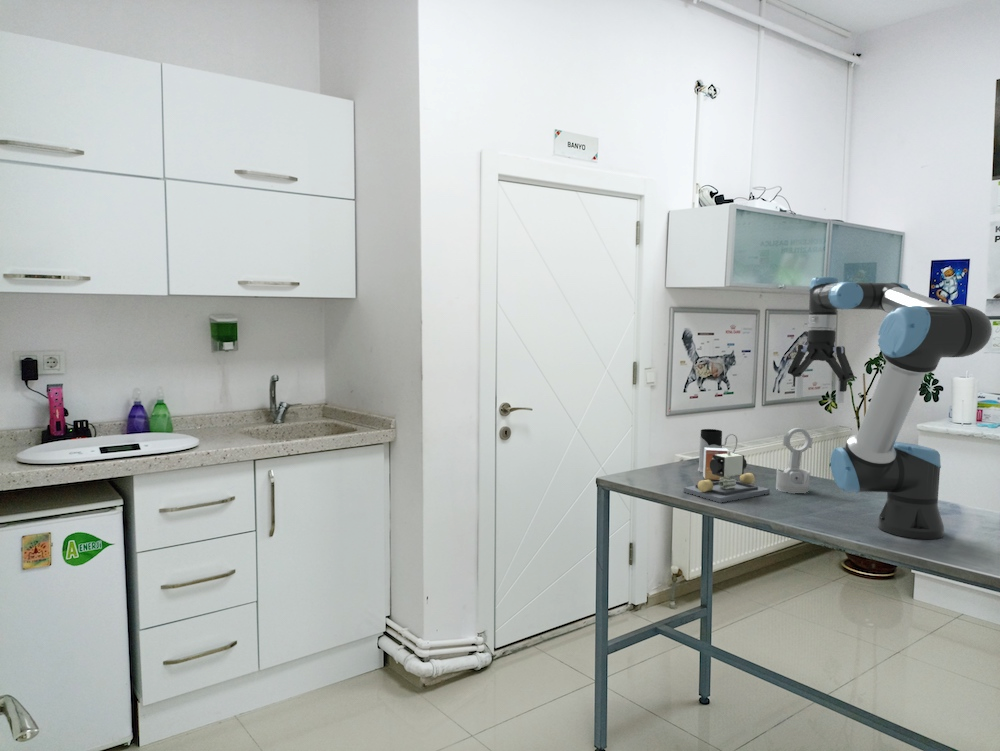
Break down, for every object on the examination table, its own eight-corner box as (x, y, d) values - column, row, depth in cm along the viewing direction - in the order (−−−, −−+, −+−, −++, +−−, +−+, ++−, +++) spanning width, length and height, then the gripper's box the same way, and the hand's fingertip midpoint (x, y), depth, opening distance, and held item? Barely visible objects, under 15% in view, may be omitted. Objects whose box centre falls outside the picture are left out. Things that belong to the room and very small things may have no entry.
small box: (704, 479, 243) (705, 449, 242) (702, 476, 248) (703, 446, 248) (728, 480, 242) (729, 450, 241) (726, 477, 247) (727, 447, 246)
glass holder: (694, 468, 261) (695, 428, 260) (731, 468, 262) (732, 428, 261) (702, 473, 252) (703, 432, 251) (740, 473, 253) (742, 432, 252)
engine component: (770, 486, 235) (784, 493, 225) (773, 425, 233) (786, 430, 223) (802, 486, 235) (817, 493, 225) (805, 426, 233) (820, 430, 223)
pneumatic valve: (746, 488, 225) (747, 451, 224) (718, 492, 220) (719, 454, 219) (733, 484, 230) (735, 448, 229) (706, 488, 225) (707, 451, 224)
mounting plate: (731, 483, 237) (732, 468, 237) (769, 493, 224) (770, 477, 224) (683, 492, 225) (683, 475, 225) (720, 502, 212) (720, 485, 212)
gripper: (777, 328, 217) (774, 396, 219) (854, 330, 196) (850, 405, 197) (793, 328, 221) (789, 395, 223) (869, 330, 200) (865, 404, 201)
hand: (818, 400), depth 210 cm, fingers open, 13 cm apart
